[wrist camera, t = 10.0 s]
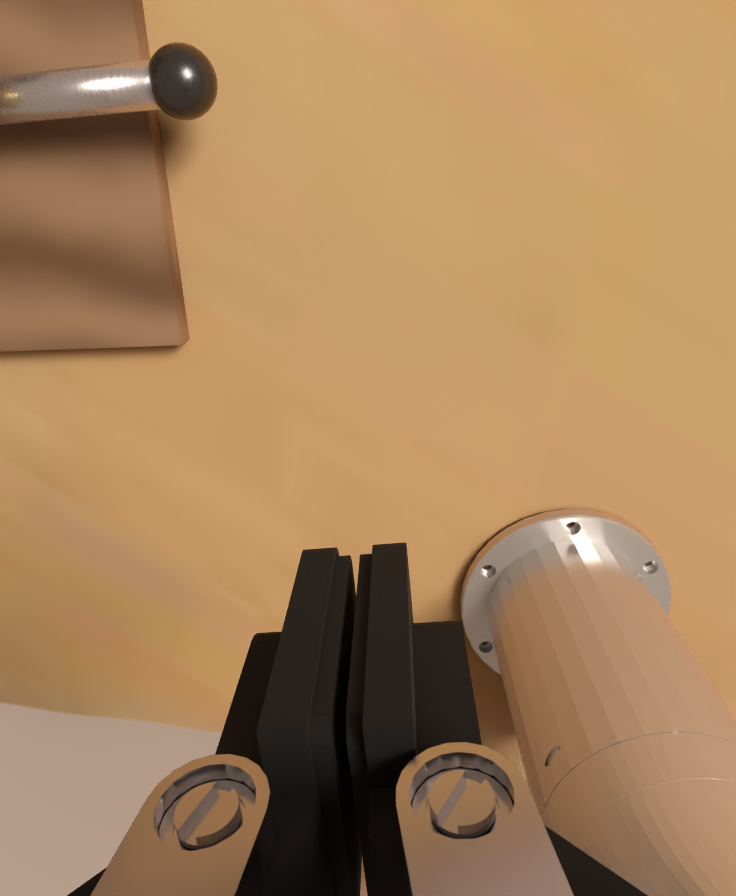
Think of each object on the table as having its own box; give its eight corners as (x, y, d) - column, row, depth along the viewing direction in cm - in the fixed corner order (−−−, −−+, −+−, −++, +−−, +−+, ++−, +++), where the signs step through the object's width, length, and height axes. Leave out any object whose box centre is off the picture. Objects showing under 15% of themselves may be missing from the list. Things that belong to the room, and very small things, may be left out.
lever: (-97, 191, 32) (-183, 193, 27) (-143, 45, 29) (-247, 19, 24) (239, 160, 31) (213, 156, 26) (217, 8, 29) (184, -27, 24)
